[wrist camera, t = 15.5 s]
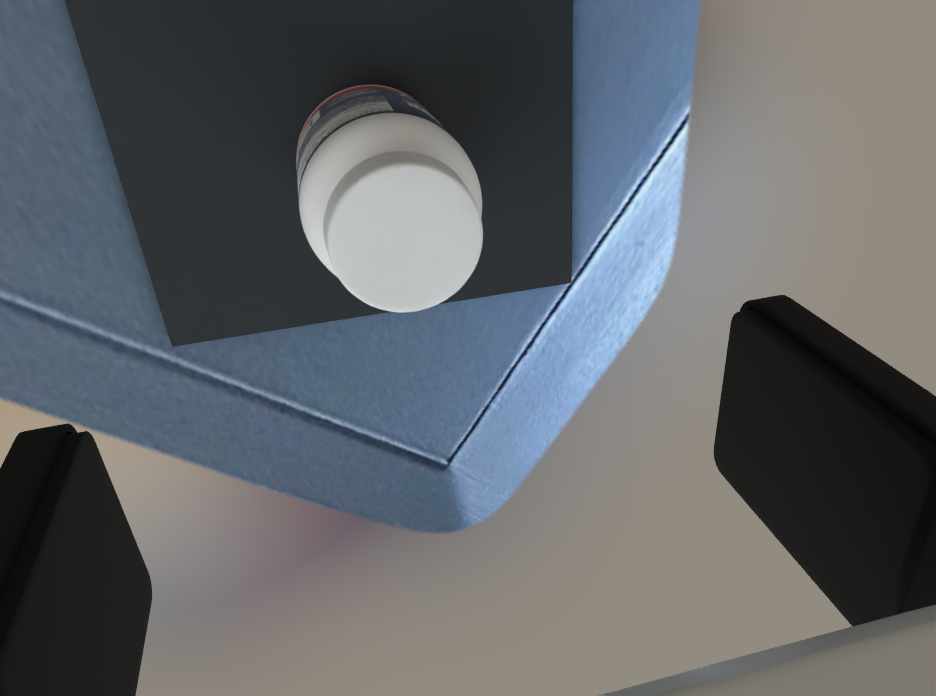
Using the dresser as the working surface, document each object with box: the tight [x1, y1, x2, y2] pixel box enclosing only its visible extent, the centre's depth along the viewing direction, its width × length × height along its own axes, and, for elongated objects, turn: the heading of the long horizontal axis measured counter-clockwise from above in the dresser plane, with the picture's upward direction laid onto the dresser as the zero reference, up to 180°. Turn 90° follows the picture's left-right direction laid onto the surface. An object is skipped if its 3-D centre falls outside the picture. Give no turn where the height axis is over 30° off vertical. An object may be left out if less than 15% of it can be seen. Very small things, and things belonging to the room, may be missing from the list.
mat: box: [65, 0, 573, 346], centre depth 26 cm, size 16×12×1 cm
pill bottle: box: [296, 85, 483, 312], centre depth 22 cm, size 5×5×9 cm
